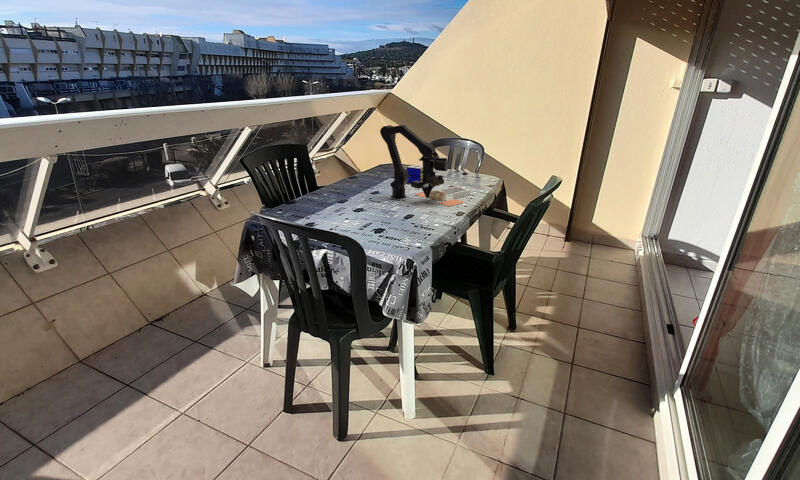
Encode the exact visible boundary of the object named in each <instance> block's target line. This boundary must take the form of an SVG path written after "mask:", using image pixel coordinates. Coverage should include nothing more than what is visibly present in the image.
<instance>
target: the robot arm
mask: <svg viewBox="0 0 800 480" xmlns="http://www.w3.org/2000/svg"><path fill="white" fill-rule="evenodd" d="M379 133H380V136H381V138H382V140H383V141H384V142H385V143H386V147H387V149H388V153H389V156H390V160H391V163H392V166H393V169H394V171H393V178H394V180H392V181H391V183H390V188H392V189H391V190H392V191H391V193H392V195H390V197H391V198H393V197H394V199H397V200H399V199H400V200H401V199H404V198H407V196H406V189H405V188H406V183H407V181H408V180H409V174H408V170H407V168H404V167H403V164H402V160H401V157H400V154H399V150H398V146H397V143H396V136H397V135H396V134H401V135H402V136H403V137H404V138H405V139H407V140H408V141H409V142H410V143H411V144H413V145H414V146H415V147H416V148H417V149H418V152H419V153H420V154H421V157H420V158H419V159H418V161H421V162H422V165H423V171H421V173H423V178H422V179H421V181H423V182H420V181H412V182H411V183H410V187H411V188H414V189H417V190H418V189H421V190H422V192H424V194H425V196H426V197H425V198H426V199H430V196H429V195H430V193H431V191H433V188H435V187H438V186H439V187H440V185H444V184H445V179H444V176H443V175H442V174H440V175H436V172H435V171H438V172H447V171H448V170H449V161H448V158H447V157H440V156H439V153H437V150H436V147H435V145H433V144H431V143H429V142H428V141H425V140H423V139H422V138H420V136H418V135H417V134H416V133H414V132H413V131H412V130H411V129H409V128H408V126H406V125H405V124H400V125H394V126H393V125H391V124H389V125H388V124H387V125H385V126H384V125H383V126H382V127H381V128H380V130H379Z"/></svg>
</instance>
